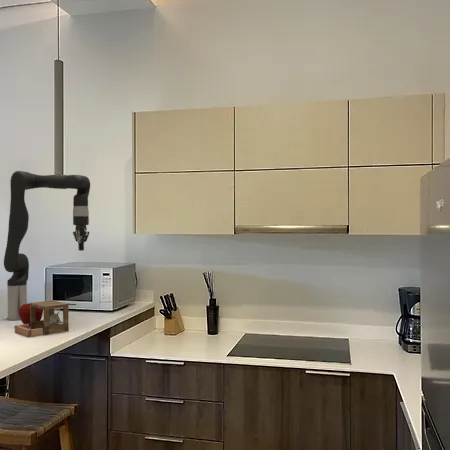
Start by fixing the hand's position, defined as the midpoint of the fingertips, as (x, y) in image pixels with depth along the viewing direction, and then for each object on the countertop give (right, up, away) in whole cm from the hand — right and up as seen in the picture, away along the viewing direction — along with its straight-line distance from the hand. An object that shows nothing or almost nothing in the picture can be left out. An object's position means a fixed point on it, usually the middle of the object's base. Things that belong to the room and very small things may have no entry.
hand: (81, 250), depth 252 cm
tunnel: (-8, -35, -22) cm, 42 cm away
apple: (-20, -35, -12) cm, 42 cm away
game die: (-7, -35, -22) cm, 42 cm away
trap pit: (-15, -35, -29) cm, 48 cm away
